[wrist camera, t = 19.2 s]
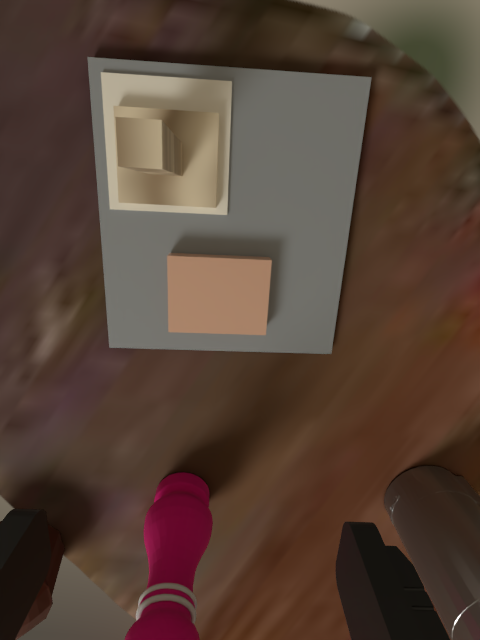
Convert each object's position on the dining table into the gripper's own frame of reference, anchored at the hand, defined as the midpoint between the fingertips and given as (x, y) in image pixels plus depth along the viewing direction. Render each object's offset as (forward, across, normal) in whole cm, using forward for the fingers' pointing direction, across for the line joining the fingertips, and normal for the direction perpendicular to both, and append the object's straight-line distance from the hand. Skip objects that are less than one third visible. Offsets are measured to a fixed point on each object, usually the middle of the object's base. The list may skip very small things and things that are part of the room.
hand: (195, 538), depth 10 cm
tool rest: (+25, +5, -13) cm, 29 cm away
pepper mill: (+28, +4, +24) cm, 37 cm away
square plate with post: (+25, +5, -12) cm, 28 cm away
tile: (+25, +5, -1) cm, 25 cm away
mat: (+26, 0, -7) cm, 27 cm away
